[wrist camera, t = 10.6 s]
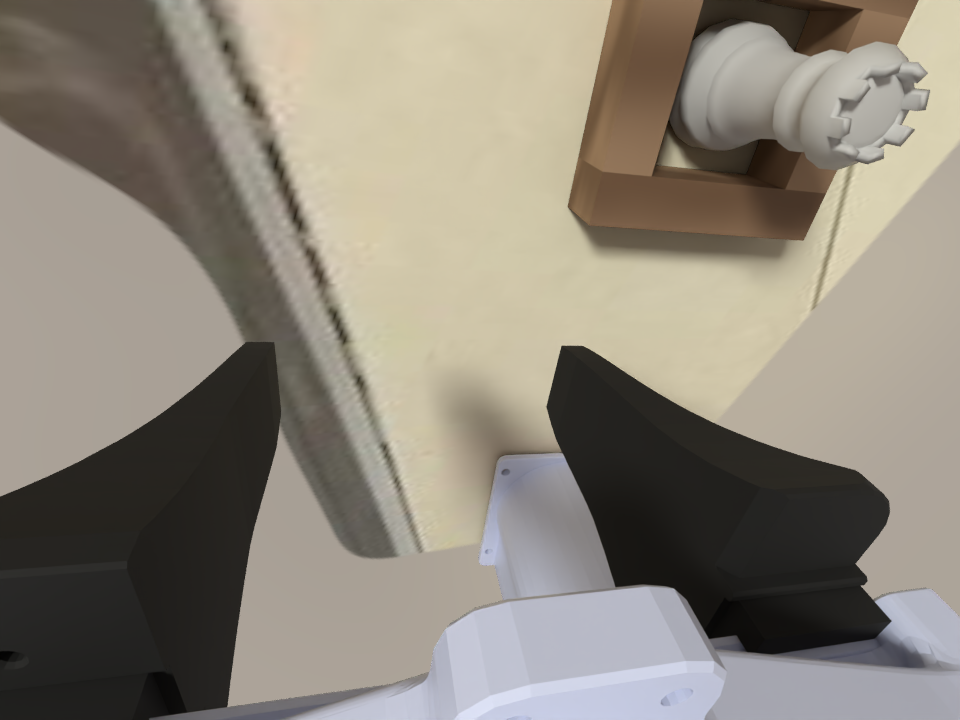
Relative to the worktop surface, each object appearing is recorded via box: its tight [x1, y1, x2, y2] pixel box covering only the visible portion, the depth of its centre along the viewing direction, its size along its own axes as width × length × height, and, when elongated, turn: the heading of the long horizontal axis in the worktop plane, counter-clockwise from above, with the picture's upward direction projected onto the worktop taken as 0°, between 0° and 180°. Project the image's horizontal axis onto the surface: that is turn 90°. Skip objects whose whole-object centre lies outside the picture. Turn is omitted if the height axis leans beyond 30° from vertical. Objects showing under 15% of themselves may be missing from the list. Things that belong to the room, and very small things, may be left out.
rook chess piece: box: [669, 19, 930, 170], centre depth 17 cm, size 4×4×8 cm
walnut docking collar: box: [568, 0, 918, 240], centre depth 19 cm, size 10×10×2 cm
